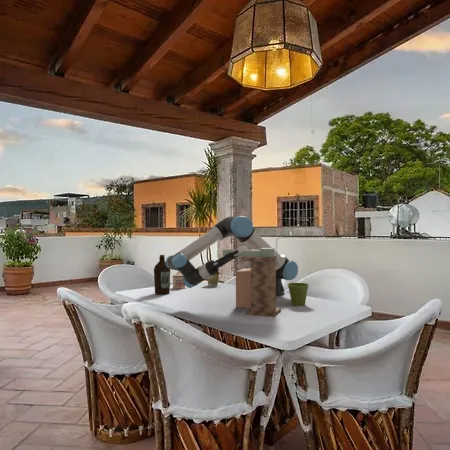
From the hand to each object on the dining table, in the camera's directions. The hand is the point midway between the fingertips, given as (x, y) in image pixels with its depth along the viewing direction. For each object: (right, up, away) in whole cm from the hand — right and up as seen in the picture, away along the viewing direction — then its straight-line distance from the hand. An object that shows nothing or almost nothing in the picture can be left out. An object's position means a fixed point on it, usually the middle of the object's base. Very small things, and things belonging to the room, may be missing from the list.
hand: (245, 247), depth 192 cm
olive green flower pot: (-18, -33, +86) cm, 94 cm away
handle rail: (+1, -4, -1) cm, 4 cm away
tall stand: (+7, -32, -3) cm, 33 cm away
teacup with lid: (-41, -33, +77) cm, 93 cm away
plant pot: (+30, -32, +15) cm, 46 cm away
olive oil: (-51, -33, +53) cm, 81 cm away
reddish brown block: (+5, -32, +15) cm, 36 cm away
